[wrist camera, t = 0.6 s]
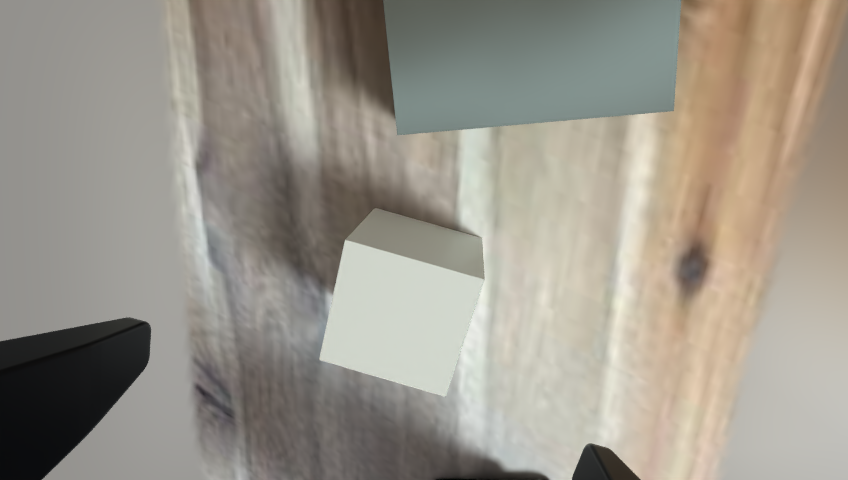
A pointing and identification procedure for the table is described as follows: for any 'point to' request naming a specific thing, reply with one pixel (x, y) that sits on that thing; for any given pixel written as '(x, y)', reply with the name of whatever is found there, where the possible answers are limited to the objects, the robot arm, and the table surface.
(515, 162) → the table surface
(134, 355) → the robot arm
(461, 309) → the cream block
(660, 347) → the table surface
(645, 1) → the slate block
